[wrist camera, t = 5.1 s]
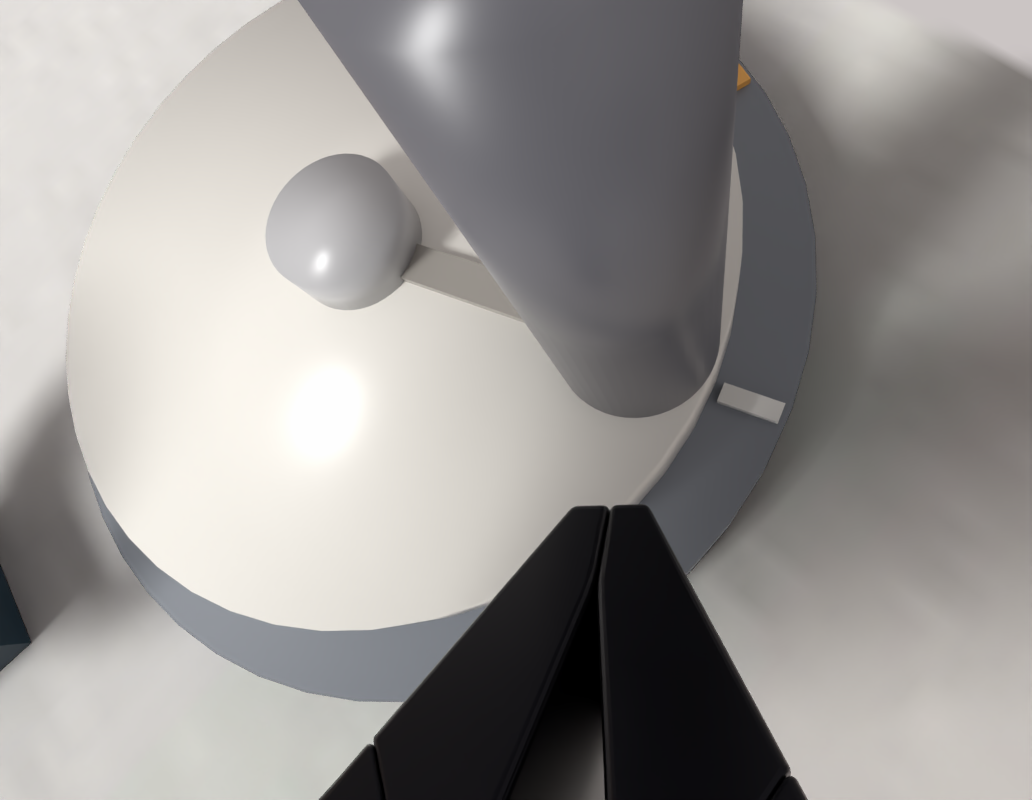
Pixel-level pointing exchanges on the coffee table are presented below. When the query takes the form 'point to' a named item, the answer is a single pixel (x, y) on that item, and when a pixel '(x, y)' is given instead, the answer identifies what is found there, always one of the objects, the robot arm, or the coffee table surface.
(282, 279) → the dial
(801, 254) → the dial base
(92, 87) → the coffee table surface
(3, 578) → the watch
